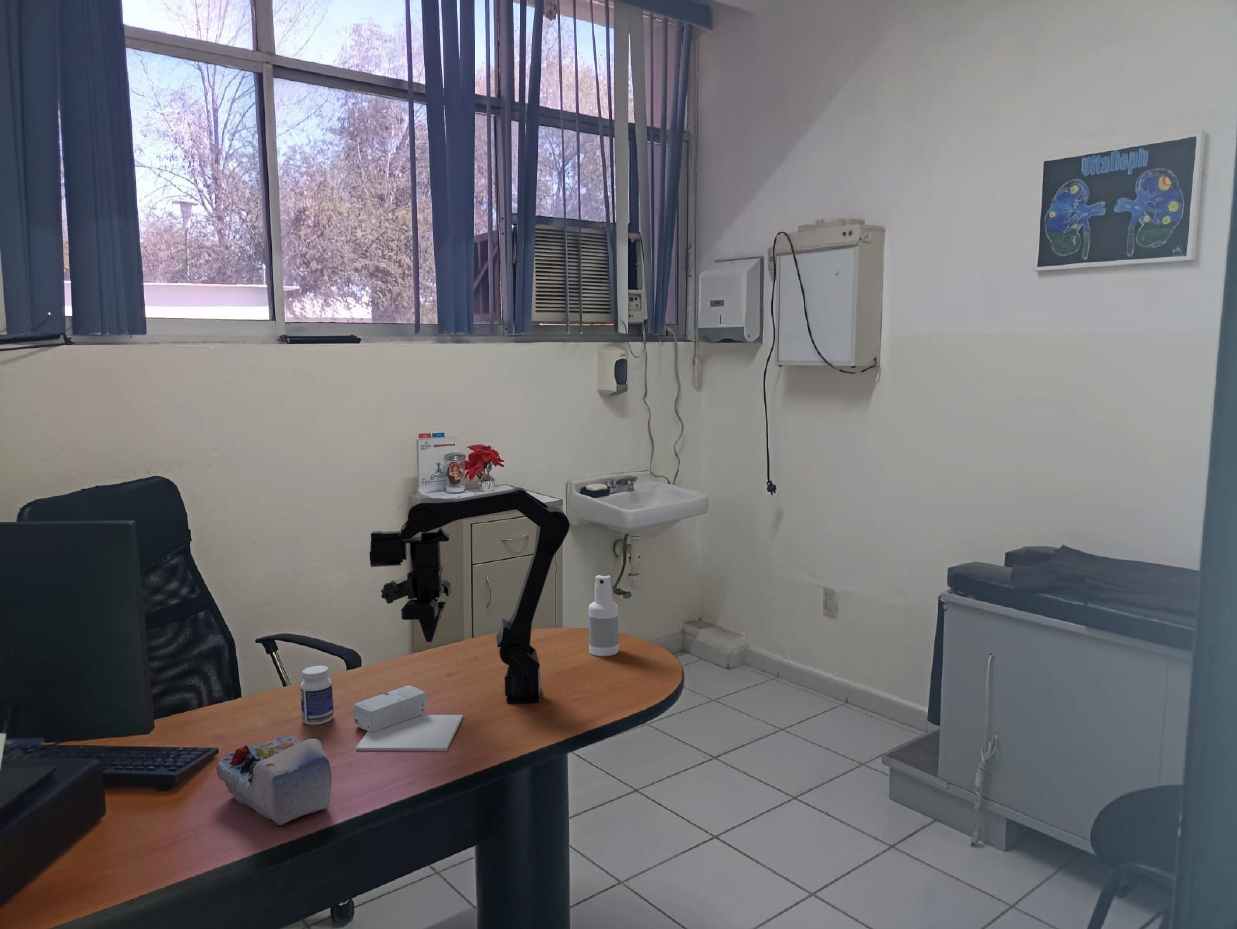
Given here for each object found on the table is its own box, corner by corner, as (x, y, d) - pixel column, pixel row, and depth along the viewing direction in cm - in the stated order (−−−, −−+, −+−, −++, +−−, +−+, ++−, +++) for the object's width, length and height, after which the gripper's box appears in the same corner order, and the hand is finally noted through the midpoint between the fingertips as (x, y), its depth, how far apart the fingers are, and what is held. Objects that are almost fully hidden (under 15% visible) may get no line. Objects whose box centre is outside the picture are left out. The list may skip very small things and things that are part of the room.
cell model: (267, 769, 123) (205, 732, 136) (273, 840, 124) (211, 798, 137) (349, 737, 133) (284, 706, 146) (354, 804, 134) (289, 767, 147)
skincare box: (426, 691, 166) (370, 710, 157) (427, 714, 167) (371, 734, 158) (407, 684, 170) (352, 701, 161) (408, 706, 171) (353, 725, 162)
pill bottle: (340, 716, 167) (337, 666, 166) (318, 728, 162) (315, 676, 160) (317, 711, 169) (314, 662, 168) (295, 723, 164) (292, 672, 163)
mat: (462, 717, 166) (462, 715, 166) (446, 750, 152) (446, 747, 152) (379, 717, 166) (379, 715, 166) (355, 750, 152) (355, 747, 152)
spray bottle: (586, 656, 199) (585, 579, 197) (592, 646, 206) (591, 572, 204) (615, 657, 198) (615, 580, 196) (620, 647, 205) (620, 573, 202)
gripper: (395, 553, 178) (399, 627, 180) (371, 577, 159) (375, 659, 161) (450, 552, 178) (453, 626, 180) (432, 575, 160) (436, 657, 161)
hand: (429, 641), depth 171 cm, fingers closed
